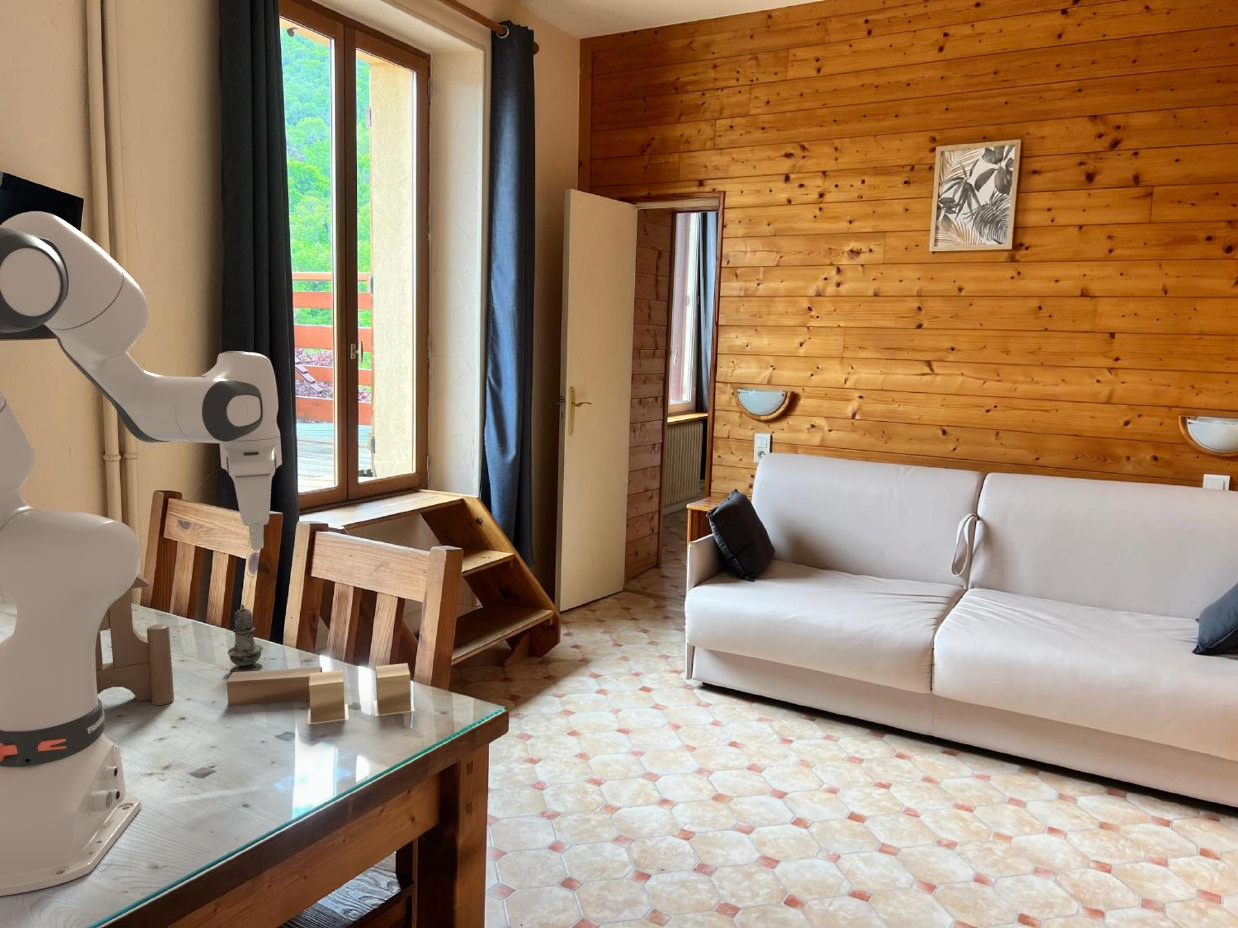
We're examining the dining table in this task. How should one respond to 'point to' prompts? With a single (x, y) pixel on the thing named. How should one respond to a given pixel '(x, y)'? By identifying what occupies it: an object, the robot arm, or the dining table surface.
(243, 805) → the dining table surface
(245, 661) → the salt shaker
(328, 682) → the pillar near
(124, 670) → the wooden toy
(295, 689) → the wooden block
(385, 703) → the pillar far
